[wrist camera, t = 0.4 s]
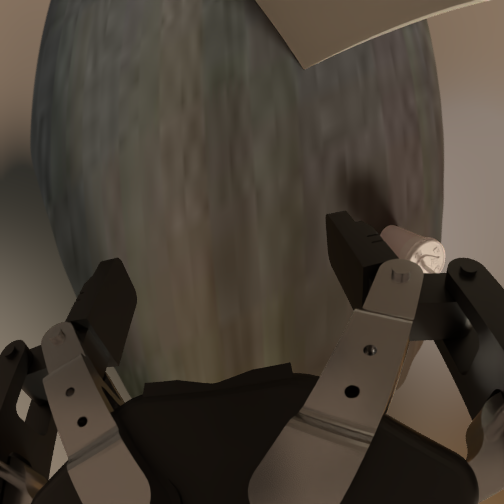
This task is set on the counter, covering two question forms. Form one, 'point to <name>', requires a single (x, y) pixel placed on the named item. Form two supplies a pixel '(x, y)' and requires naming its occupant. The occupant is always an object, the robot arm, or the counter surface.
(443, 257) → the smoothie
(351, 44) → the cabinet
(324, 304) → the counter surface
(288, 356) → the counter surface
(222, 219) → the counter surface
